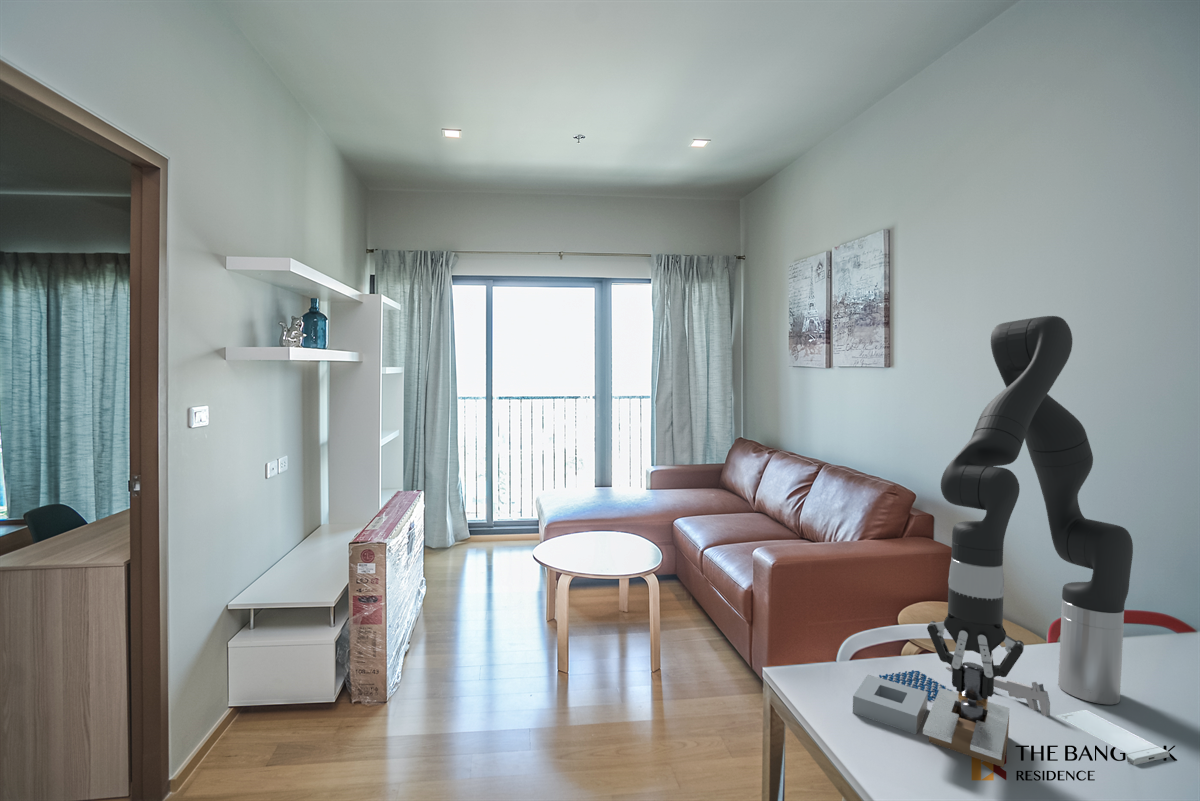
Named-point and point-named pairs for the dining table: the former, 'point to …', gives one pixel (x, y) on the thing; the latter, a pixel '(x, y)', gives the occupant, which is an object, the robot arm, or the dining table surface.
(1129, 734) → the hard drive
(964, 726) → the socket block
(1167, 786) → the dining table surface
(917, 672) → the woven mat
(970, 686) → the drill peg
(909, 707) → the block
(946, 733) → the plate
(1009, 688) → the caliper
